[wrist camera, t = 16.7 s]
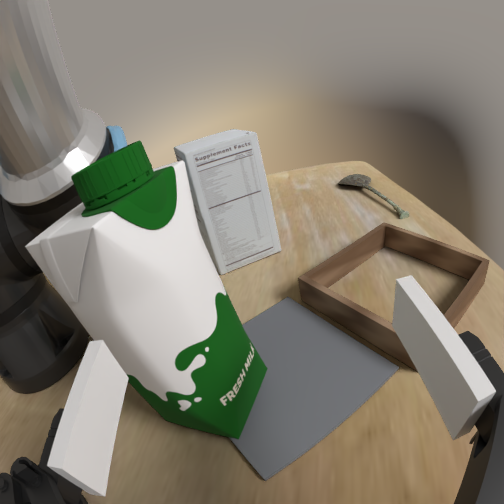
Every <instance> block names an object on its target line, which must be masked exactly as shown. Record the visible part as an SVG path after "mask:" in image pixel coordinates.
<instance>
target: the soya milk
mask: <svg viewBox="0 0 504 504" xmlns="http://www.w3.org/2000/svg"><path fill="white" fill-rule="evenodd" d="M71 179H72V181H73V183H74V186H75V188H76V190H77V192H78V194H79V196H80V199H81V201H82V203H81V204H79V205H78V206H77V207H75V208H74V209H72V210H71V211H70V212H68V213H67V214H66V215H64V216H63V217H62V218H60V219H59V220H58V221H56V222H55V223H54V224H52V225H51V226H50V227H48V228H47V229H46V230H45V231H43V232H42V233H41V234H40V235H38V236H37V237H36V238H35V239H33V240H32V241H31V242H30V243H28V244H27V245H26V246H25V247H26V249H27V250H28V251H29V253H30V254H31V256H32V257H33V259H34V260H35V261H36V263H37V264H38V266H39V267H40V269H41V270H42V271H43V273H44V274H45V275H46V277H47V278H48V280H49V281H50V282H51V284H52V285H53V286H54V288H55V289H56V290H57V292H58V293H59V294H60V295H61V297H62V298H63V299H64V301H65V302H66V303H67V304H68V306H69V307H70V309H71V310H72V311H73V313H74V314H75V315H76V317H77V318H78V320H79V321H80V323H81V324H82V325H83V327H84V328H85V329H86V331H87V332H88V333H89V335H90V336H91V337H92V338H93V340H94V341H97V340H103V341H104V342H105V344H106V346H107V347H108V349H109V350H110V352H111V353H112V355H113V356H114V358H115V359H116V361H117V362H118V363H119V365H120V366H121V368H122V369H123V371H124V372H125V373H126V375H127V376H128V378H129V379H128V382H129V383H130V384H131V385H132V386H133V387H134V388H135V389H136V390H137V392H138V393H139V394H140V395H141V396H142V397H143V398H144V399H145V400H146V401H147V402H148V403H149V404H150V405H151V406H152V407H153V408H154V409H155V410H156V411H157V412H158V413H159V414H160V415H161V416H162V417H163V418H164V419H165V420H166V421H169V422H172V423H176V424H179V425H183V426H186V427H190V428H193V429H197V430H201V431H205V432H209V433H213V434H217V435H221V436H225V437H230V438H235V439H239V438H240V435H241V433H242V431H243V428H244V426H245V424H246V421H247V419H248V416H249V414H250V412H251V409H252V407H253V404H254V402H255V399H256V397H257V394H258V392H259V389H260V387H261V384H262V382H263V379H264V377H265V374H266V372H267V369H268V368H267V367H266V365H265V364H264V362H263V360H262V359H261V357H260V355H259V354H258V352H257V350H256V349H255V347H254V345H253V344H252V342H251V340H250V339H249V337H248V335H247V334H246V332H245V330H244V328H243V326H242V324H241V322H240V320H239V318H238V316H237V313H236V311H235V309H234V307H233V305H232V303H231V301H230V299H229V296H228V294H227V292H226V290H225V288H224V286H223V283H222V281H221V279H220V277H219V275H218V272H217V270H216V268H215V266H214V264H213V261H212V259H211V257H210V255H209V252H208V250H207V248H206V246H205V243H204V241H203V239H202V236H201V233H200V230H199V227H198V223H197V218H196V214H195V209H194V205H193V200H192V195H191V191H190V186H189V181H188V176H187V171H186V166H185V162H184V161H183V160H182V161H178V162H174V163H171V164H168V165H165V166H162V167H158V168H155V169H152V165H151V163H150V161H149V159H148V157H147V154H146V152H145V150H144V147H143V145H142V143H141V141H137V142H135V143H132V144H130V145H128V146H125V147H123V148H121V149H119V150H117V151H115V152H113V153H111V154H109V155H107V156H105V157H103V158H101V159H99V160H97V161H96V162H94V163H92V164H90V165H88V166H87V167H85V168H83V169H81V170H80V171H78V172H76V173H75V174H73V175H72V176H71Z"/></svg>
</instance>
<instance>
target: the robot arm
mask: <svg viewBox="0 0 504 504" xmlns="http://www.w3.org/2000/svg"><path fill="white" fill-rule="evenodd" d="M125 146H127V142H126V138H125V135H124V132H123V130H122V129H121V127H119V126H107V127H106V126H105V123H104V121H103V120H102V118H101V117H100V116H99V114H97V113H96V112H94V111H92V110H89V109H85V108H81V107H80V104H79V102H78V99H77V96H76V93H75V90H74V87H73V84H72V81H71V78H70V75H69V72H68V70H67V66H66V63H65V60H64V56H63V53H62V50H61V46H60V43H59V40H58V36H57V33H56V29H55V26H54V22H53V18H52V14H51V10H50V6H49V2H48V0H0V376H1V378H2V379H3V380H4V381H5V382H6V383H7V385H8V386H9V387H10V388H11V389H12V390H14V391H16V392H18V393H34V392H37V391H40V390H43V389H45V388H47V387H49V386H51V385H52V384H54V383H55V382H57V381H58V380H59V379H61V378H62V377H63V376H64V375H65V374H66V373H67V372H68V371H69V370H70V369H71V368H72V367H73V366H74V365H75V363H76V362H77V361H78V359H79V358H80V356H81V355H82V353H83V351H84V349H85V347H86V344H87V341H88V334H89V333H88V332H87V331H86V329H85V328H84V327H83V325H82V324H81V323H80V321H79V320H78V318H77V317H76V315H75V314H74V313H73V311H72V310H71V309H70V307H69V306H68V304H67V303H66V302H65V301H64V299H63V298H62V297H61V295H60V294H59V293H58V292H57V291H56V290H55V289H54V288H53V287H52V286H51V285H50V284H49V283H48V282H47V280H46V278H45V276H44V274H43V271H42V270H41V269H40V267H39V266H38V264H37V263H36V261H35V260H34V259H33V257H32V256H31V254H30V253H29V251H28V250H27V249H26V247H25V246H26V245H27V244H28V243H30V242H31V241H32V240H33V239H35V238H36V237H37V236H38V235H40V234H41V233H42V232H43V231H45V230H46V229H47V228H48V227H50V226H51V225H52V224H54V223H55V222H56V221H58V220H59V219H60V218H62V217H63V216H64V215H66V214H67V213H68V212H70V211H71V210H72V209H74V208H75V207H77V206H78V205H79V204H81V203H82V201H81V199H80V196H79V194H78V192H77V190H76V188H75V186H74V183H73V181H72V179H71V176H72V175H73V174H75V173H76V172H78V171H80V170H81V169H83V168H85V167H87V166H88V165H90V164H92V163H94V162H96V161H97V160H99V159H101V158H103V157H105V156H107V155H109V154H111V153H113V152H115V151H117V150H119V149H121V148H123V147H125ZM392 327H393V328H394V330H395V332H396V334H397V335H398V337H399V339H400V340H401V342H402V344H403V346H404V347H405V349H406V351H407V353H408V354H409V356H410V358H411V360H412V362H413V363H414V365H415V367H416V369H417V371H418V373H419V374H420V376H421V378H422V380H423V382H424V384H425V386H426V387H427V389H428V391H429V393H430V395H431V397H432V399H433V401H434V403H435V405H436V407H437V409H438V411H439V413H440V415H441V417H442V419H443V421H444V423H445V425H446V427H447V429H448V431H449V433H450V435H451V437H452V439H453V440H455V439H457V438H459V437H461V436H463V435H465V434H467V433H469V432H470V431H471V429H472V428H473V427H474V425H475V426H476V428H477V430H478V431H477V432H476V434H475V435H474V436H473V437H472V439H471V441H470V443H469V444H472V443H473V442H474V444H473V448H472V452H471V455H470V459H469V462H468V465H467V468H466V471H465V475H464V478H463V480H462V483H461V486H460V489H459V492H458V494H457V497H456V500H455V502H454V504H504V373H503V371H502V370H501V368H500V367H499V365H498V364H497V363H496V361H495V360H494V358H493V357H491V354H490V353H489V351H488V350H487V349H485V346H484V345H483V343H482V342H481V341H480V339H479V338H478V337H477V336H475V335H473V334H472V333H470V332H469V331H466V332H464V333H462V334H459V335H458V334H457V333H456V331H455V330H454V329H453V327H452V326H451V325H450V323H449V322H448V321H447V319H446V318H445V317H444V315H443V314H442V313H441V312H440V310H439V309H438V308H437V306H436V305H435V304H434V303H433V301H432V300H431V299H430V297H429V296H428V295H427V294H426V292H425V291H424V290H423V289H422V288H421V286H420V285H419V284H418V283H417V281H416V280H415V279H414V278H413V277H412V275H410V276H407V277H403V278H400V279H396V289H395V302H394V312H393V322H392ZM128 379H129V378H128V376H127V375H126V373H125V372H124V371H123V369H122V368H121V366H120V365H119V363H118V362H117V361H116V359H115V358H114V356H113V355H112V353H111V352H110V350H109V349H108V347H107V346H106V344H105V342H104V341H103V340H97V341H90V342H89V345H88V347H87V349H86V352H85V354H84V357H83V359H82V362H81V364H80V367H79V370H78V372H77V375H76V377H75V380H74V383H73V385H72V388H71V391H70V394H69V397H68V399H67V402H66V405H65V408H64V409H59V411H58V412H57V414H56V415H55V416H54V418H53V421H52V424H51V427H50V428H51V430H49V433H48V437H47V440H46V443H45V446H44V449H43V453H42V456H41V460H40V463H39V466H37V465H36V464H35V463H33V462H32V461H31V460H29V459H28V458H26V457H20V458H18V459H17V460H16V461H15V462H14V463H13V465H12V466H11V471H10V474H11V476H10V475H9V474H7V473H1V474H0V504H88V502H87V501H86V499H85V498H84V496H83V495H82V494H81V491H82V490H84V491H86V492H87V493H89V494H91V495H98V496H104V497H105V495H106V488H107V482H108V475H109V469H110V464H111V458H112V453H113V447H114V442H115V437H116V432H117V427H118V422H119V418H120V413H121V409H122V404H123V400H124V395H125V391H126V387H127V383H128ZM474 440H475V441H474Z"/></svg>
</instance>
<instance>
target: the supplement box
mask: <svg viewBox="0 0 504 504" xmlns="http://www.w3.org/2000/svg"><path fill="white" fill-rule="evenodd" d="M174 151H175V154H176V158H177V161H182V160H183V161H184V162H185V166H186V171H187V176H188V181H189V186H190V191H191V195H192V200H193V205H194V209H195V214H196V218H197V223H198V227H199V230H200V233H201V236H202V239H203V241H204V243H205V246H206V248H207V250H208V252H209V255H210V257H211V259H212V261H213V264H214V266H215V267H216V269H217V270H218V272H219V274H220V275H223V274H225V273H228V272H230V271H232V270H235V269H237V268H240V267H242V266H245V265H247V264H250V263H252V262H255V261H257V260H260V259H262V258H265V257H267V256H270V255H272V254H275V253H277V252H279V251H281V246H280V241H279V236H278V231H277V226H276V221H275V217H274V212H273V207H272V202H271V197H270V193H269V188H268V183H267V179H266V174H265V170H264V165H263V160H262V156H261V152H260V147H259V142H258V138H257V134H256V133H255V132H251V131H243V130H237V129H232V130H228V131H224V132H221V133H217V134H214V135H210V136H207V137H204V138H200V139H197V140H194V141H191V142H188V143H185V144H182V145H179V146H176V147H174Z"/></svg>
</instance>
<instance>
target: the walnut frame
mask: <svg viewBox="0 0 504 504" xmlns="http://www.w3.org/2000/svg"><path fill="white" fill-rule="evenodd" d="M385 246H387V247H389V248H392V249H394V250H397V251H400V252H402V253H405V254H407V255H410V256H412V257H415V258H417V259H420V260H422V261H425V262H427V263H430V264H432V265H435V266H437V267H440V268H442V269H444V270H447V271H449V272H452V273H454V274H456V275H459V276H461V277H464V278H466V279H468V280H469V282H468V283H467V285H466V286H465V287H464V289H463V290H462V291H461V293H460V294H459V296H458V297H457V298H456V300H455V301H454V302H453V304H452V305H451V306H450V308H449V309H448V310H447V311H446V313H445V314H444V317H445V318H446V319H447V321H448V322H449V323H450V325H451V326H452V327H453V329H454V327H455V326H456V325H457V323H458V322H459V320H460V319H461V318H462V316H463V315H464V313H465V312H466V310H467V309H468V307H469V306H470V304H471V303H472V301H473V300H474V298H475V297H476V295H477V294H478V292H479V290H480V289H481V287H482V286H483V284H484V282H485V278H486V274H487V269H488V265H489V260H487V259H485V258H482V257H480V256H477V255H474V254H472V253H469V252H467V251H464V250H461V249H459V248H456V247H453V246H451V245H448V244H445V243H442V242H440V241H437V240H434V239H431V238H428V237H425V236H423V235H420V234H417V233H414V232H411V231H408V230H405V229H402V228H399V227H396V226H393V225H390V224H387V223H382V224H381V225H379V226H378V227H376V228H375V229H373V230H372V231H370V232H369V233H367V234H366V235H364V236H363V237H361V238H360V239H358V240H357V241H355V242H354V243H352V244H351V245H349V246H347V247H346V248H344V249H343V250H341V251H340V252H338V253H337V254H335V255H334V256H332V257H330V258H329V259H327V260H326V261H324V262H323V263H321V264H319V265H318V266H316V267H315V268H313V269H311V270H310V271H308V272H307V273H305V274H303V275H302V276H300V277H299V278H298V280H299V287H300V294H301V300H302V301H304V302H305V303H307V304H309V305H310V306H312V307H313V308H315V309H317V310H318V311H320V312H321V313H323V314H325V315H326V316H328V317H329V318H331V319H333V320H334V321H336V322H337V323H339V324H341V325H342V326H344V327H345V328H347V329H349V330H350V331H352V332H354V333H355V334H357V335H358V336H360V337H362V338H363V339H365V340H367V341H368V342H370V343H371V344H373V345H375V346H376V347H378V348H380V349H381V350H383V351H384V352H386V353H388V354H389V355H391V356H393V357H394V358H396V359H398V360H399V361H401V362H402V363H404V364H406V365H407V366H409V367H411V368H412V369H414V370H416V371H417V369H416V367H415V365H414V363H413V362H412V360H411V358H410V356H409V354H408V353H407V351H406V349H405V347H404V346H403V344H402V342H401V340H400V339H399V337H398V335H397V334H396V332H395V330H394V328H393V327H392V323H391V322H389V321H387V320H385V319H383V318H382V317H380V316H378V315H376V314H374V313H372V312H371V311H369V310H367V309H365V308H363V307H361V306H360V305H358V304H356V303H354V302H352V301H350V300H349V299H347V298H345V297H343V296H341V295H339V294H338V293H336V292H334V291H332V290H330V289H328V287H329V286H331V285H332V284H334V283H335V282H336V281H338V280H339V279H341V278H342V277H344V276H345V275H346V274H348V273H349V272H351V271H352V270H353V269H355V268H356V267H358V266H359V265H360V264H362V263H363V262H364V261H366V260H367V259H368V258H370V257H371V256H373V255H374V254H375V253H377V252H378V251H379V250H381V249H382V248H383V247H385ZM417 372H418V371H417Z"/></svg>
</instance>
